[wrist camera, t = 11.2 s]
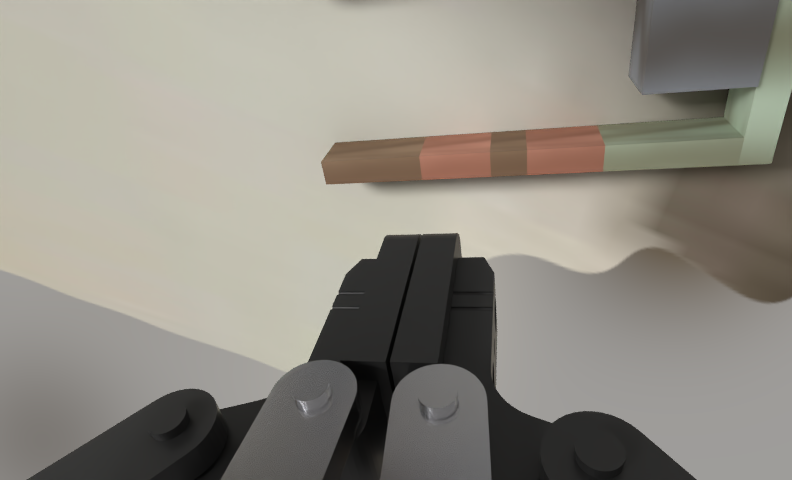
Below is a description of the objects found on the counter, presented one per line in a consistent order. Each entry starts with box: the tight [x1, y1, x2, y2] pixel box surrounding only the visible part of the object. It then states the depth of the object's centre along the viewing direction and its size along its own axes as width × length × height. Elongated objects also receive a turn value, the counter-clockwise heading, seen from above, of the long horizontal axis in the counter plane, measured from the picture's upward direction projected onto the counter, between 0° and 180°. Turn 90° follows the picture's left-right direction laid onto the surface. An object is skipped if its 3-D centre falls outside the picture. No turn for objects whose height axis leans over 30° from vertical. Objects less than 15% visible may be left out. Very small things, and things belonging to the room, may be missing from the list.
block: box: [629, 0, 779, 95], centre depth 24 cm, size 5×5×4 cm
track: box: [321, 0, 792, 184], centre depth 26 cm, size 13×24×3 cm, turn 98°
